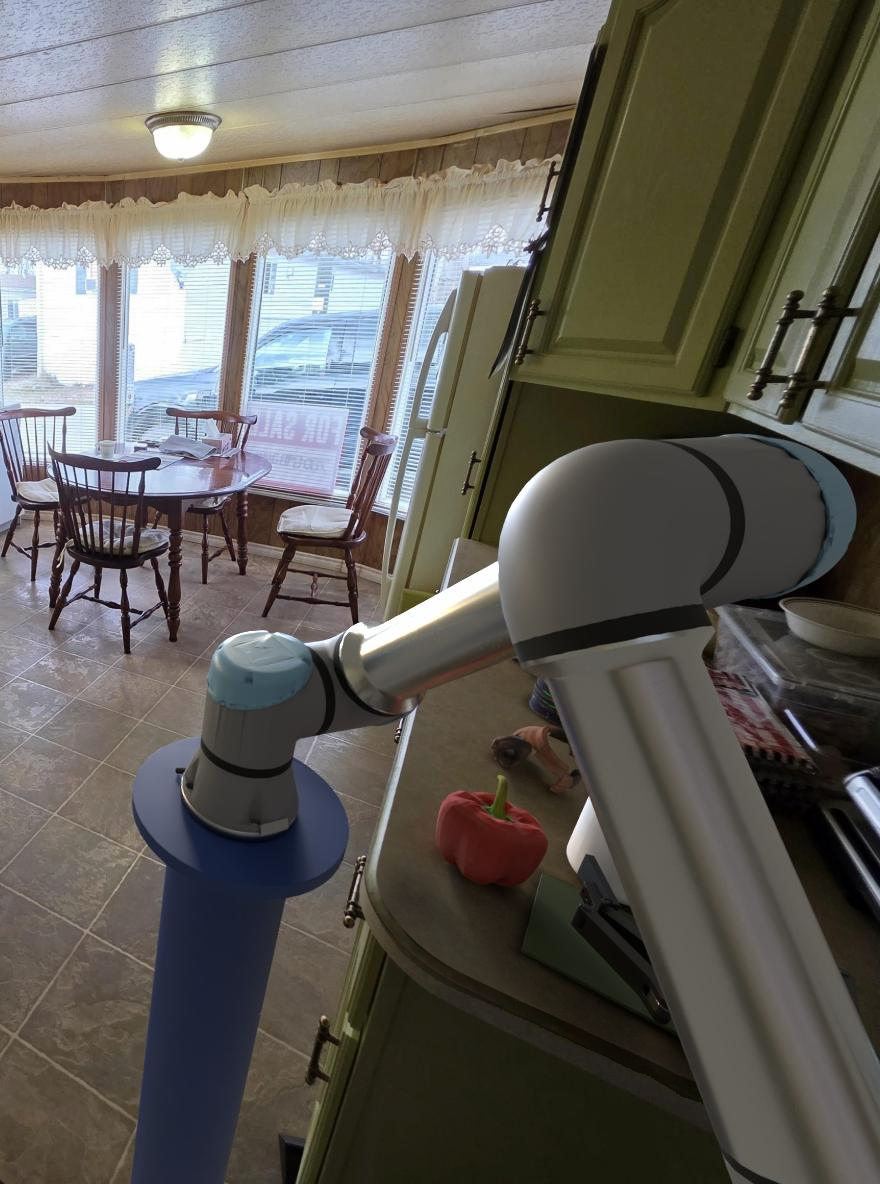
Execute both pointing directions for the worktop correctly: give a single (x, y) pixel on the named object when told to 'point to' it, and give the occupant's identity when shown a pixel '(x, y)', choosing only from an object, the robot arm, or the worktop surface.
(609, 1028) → the worktop surface
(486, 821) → the vegetable
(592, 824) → the cup
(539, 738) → the headlamp
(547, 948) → the coaster
